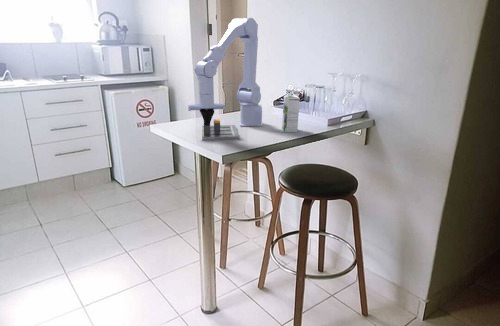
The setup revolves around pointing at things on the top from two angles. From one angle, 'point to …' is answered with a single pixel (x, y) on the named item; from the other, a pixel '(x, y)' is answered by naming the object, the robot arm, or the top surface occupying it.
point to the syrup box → (290, 113)
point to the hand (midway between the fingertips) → (207, 127)
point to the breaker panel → (219, 132)
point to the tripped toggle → (216, 124)
